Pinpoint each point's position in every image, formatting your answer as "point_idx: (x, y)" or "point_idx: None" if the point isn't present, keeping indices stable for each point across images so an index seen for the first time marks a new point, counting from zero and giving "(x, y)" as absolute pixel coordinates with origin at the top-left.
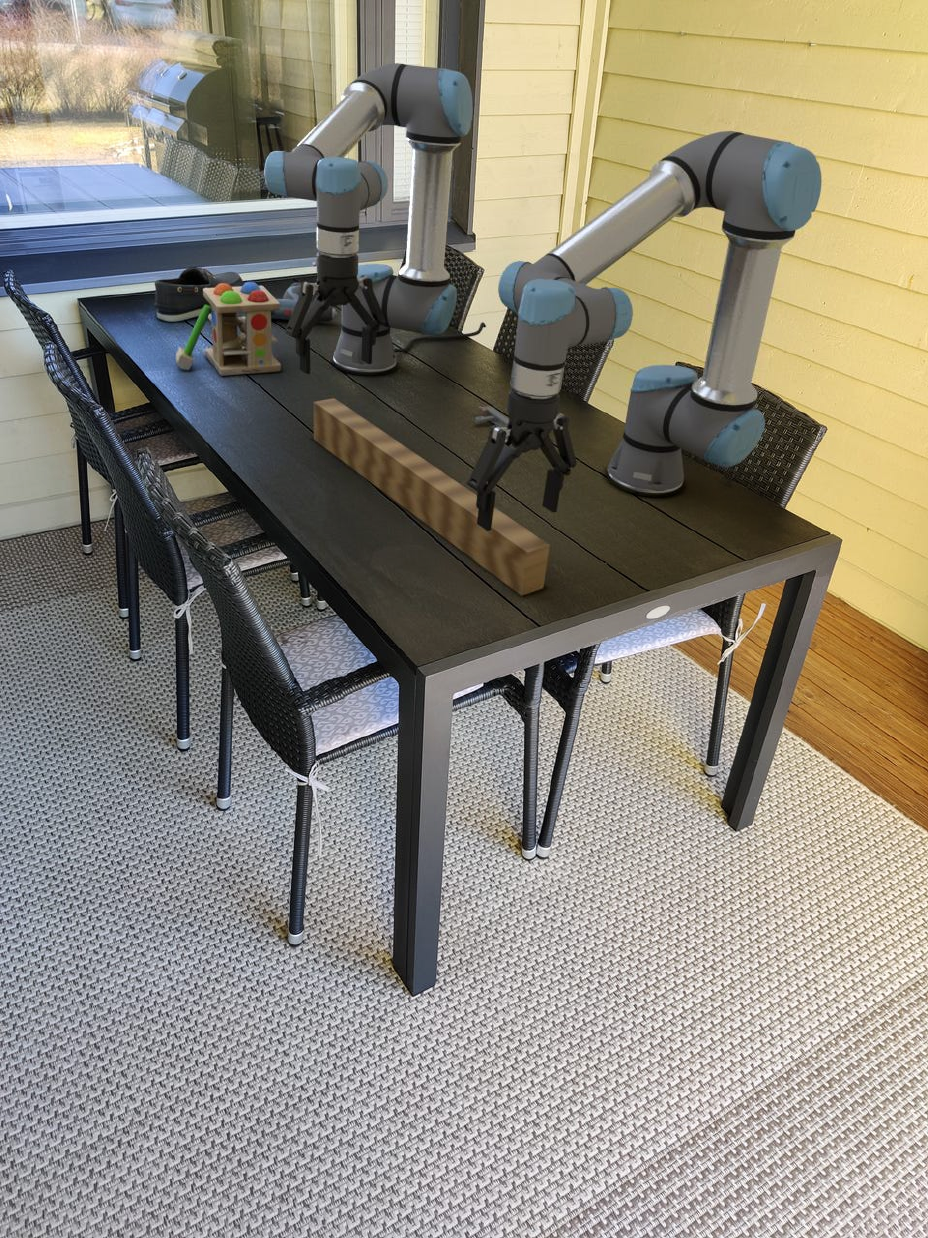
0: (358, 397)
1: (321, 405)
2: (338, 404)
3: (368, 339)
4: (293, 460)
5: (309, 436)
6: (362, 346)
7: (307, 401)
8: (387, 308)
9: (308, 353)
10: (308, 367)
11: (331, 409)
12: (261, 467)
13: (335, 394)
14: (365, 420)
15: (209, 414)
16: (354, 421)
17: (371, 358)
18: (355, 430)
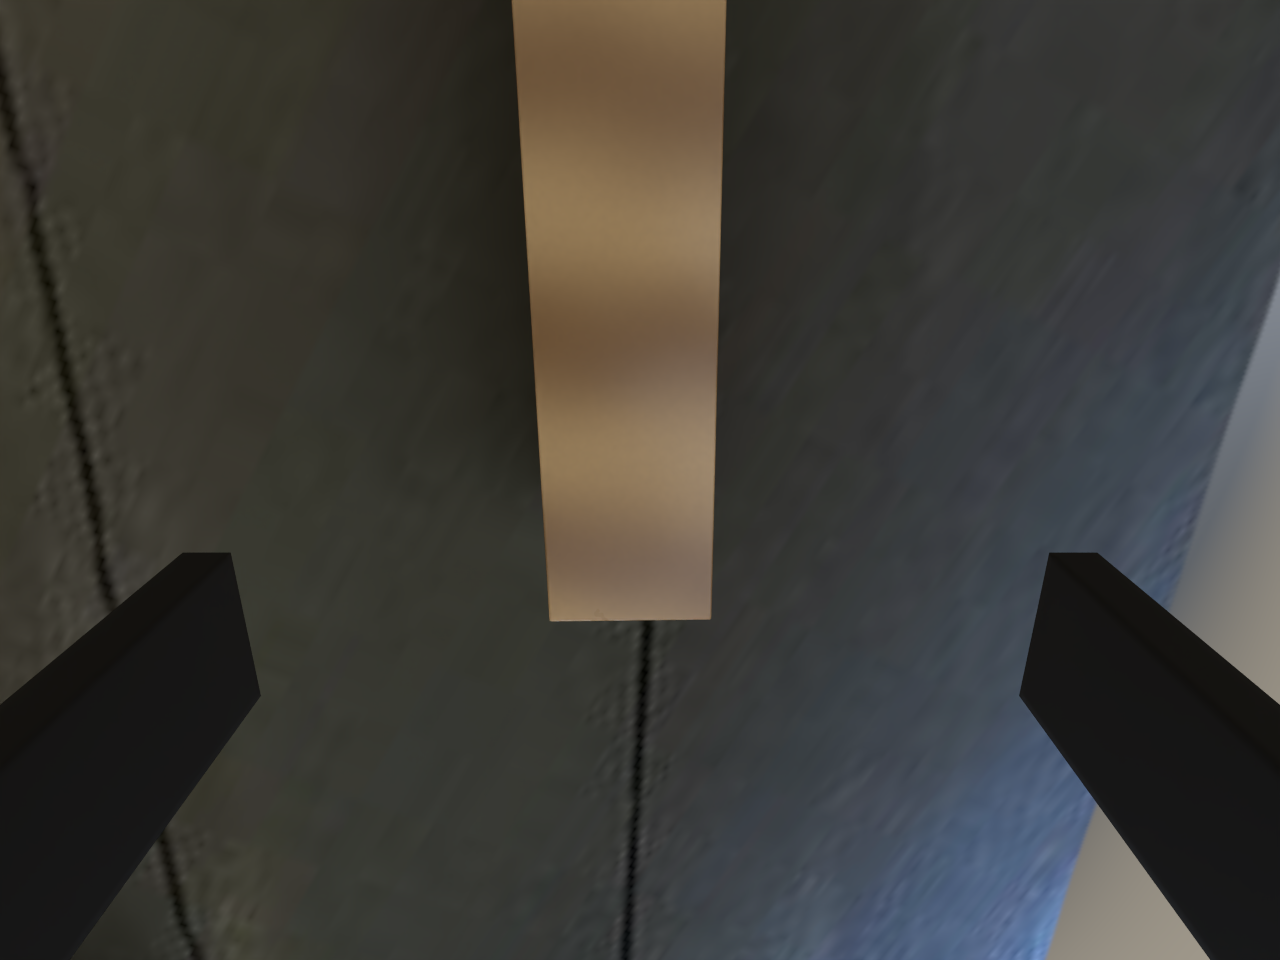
0: (248, 821)
1: (696, 548)
2: (575, 519)
3: (9, 791)
4: (928, 332)
5: None
6: (167, 803)
7: (502, 864)
8: None
9: (1253, 709)
10: (1117, 589)
11: (668, 463)
12: (1122, 330)
13: (342, 880)
14: (533, 162)
15: (962, 898)
16: (626, 186)
17: (153, 584)
18: (715, 6)
